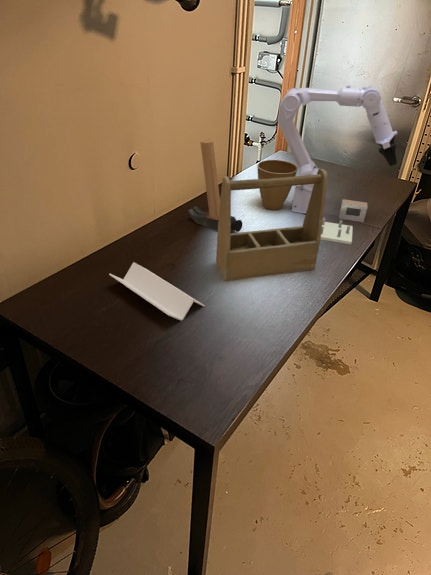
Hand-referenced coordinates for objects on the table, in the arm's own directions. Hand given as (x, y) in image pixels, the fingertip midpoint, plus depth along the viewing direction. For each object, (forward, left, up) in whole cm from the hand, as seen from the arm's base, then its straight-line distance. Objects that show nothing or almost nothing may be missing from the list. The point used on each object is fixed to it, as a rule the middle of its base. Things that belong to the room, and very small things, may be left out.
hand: (393, 161), depth 147 cm
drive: (-9, 0, -23) cm, 25 cm away
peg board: (-16, -15, -23) cm, 32 cm away
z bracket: (-60, -69, -23) cm, 95 cm away
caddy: (-34, -44, -23) cm, 61 cm away
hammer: (-56, -24, -23) cm, 65 cm away
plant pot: (-39, 0, -23) cm, 45 cm away
